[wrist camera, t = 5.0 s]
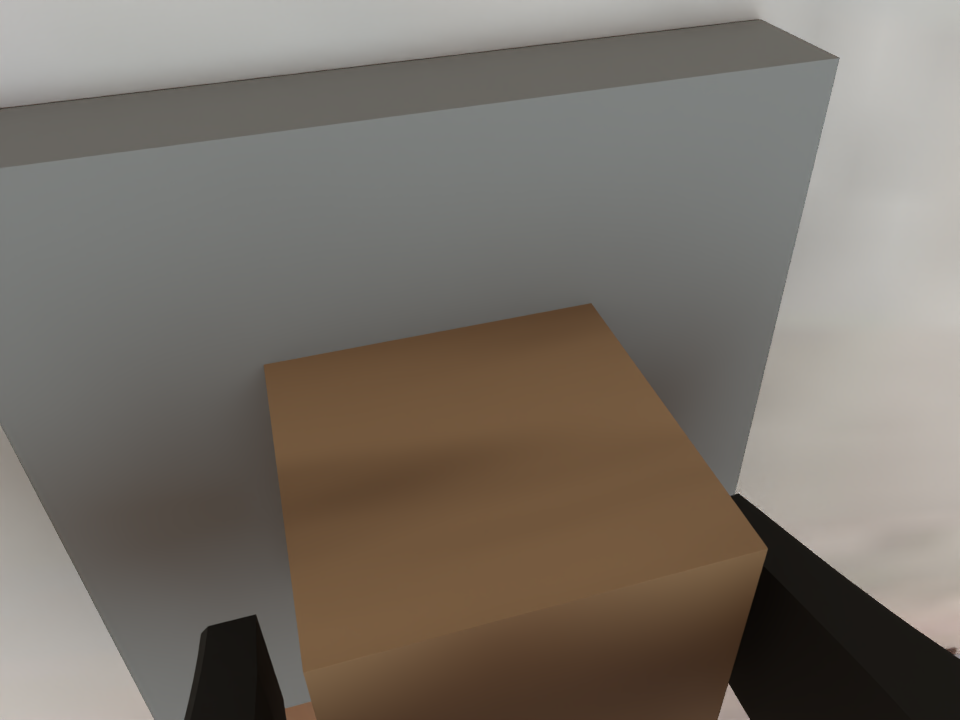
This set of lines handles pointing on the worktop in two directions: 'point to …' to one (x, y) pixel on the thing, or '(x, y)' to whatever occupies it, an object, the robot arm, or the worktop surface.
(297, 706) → the terracotta puck
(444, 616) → the walnut cube
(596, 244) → the slate base
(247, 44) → the worktop surface
